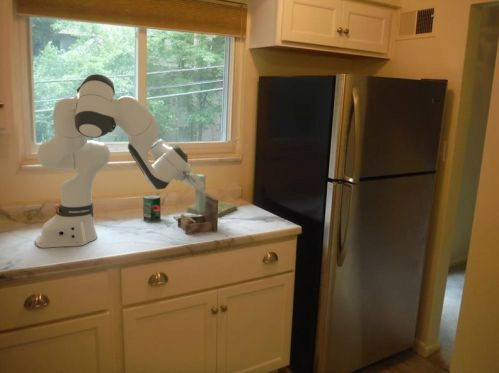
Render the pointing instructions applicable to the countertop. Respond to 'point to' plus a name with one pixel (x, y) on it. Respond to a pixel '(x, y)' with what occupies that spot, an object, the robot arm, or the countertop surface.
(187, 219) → the offcut stack
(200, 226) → the walnut rack
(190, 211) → the decorative tile
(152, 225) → the countertop surface
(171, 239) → the countertop surface
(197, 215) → the grey mat
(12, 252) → the countertop surface
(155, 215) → the canned tomato
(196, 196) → the pale green block
